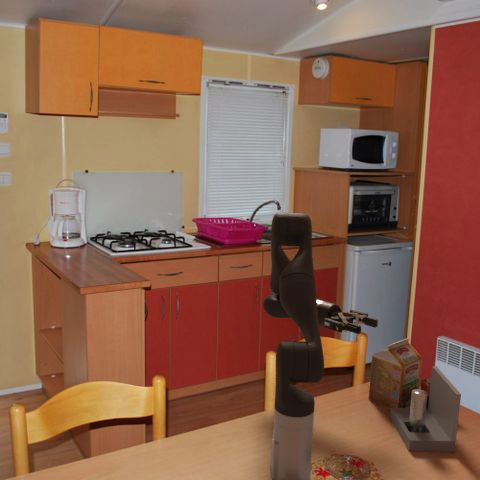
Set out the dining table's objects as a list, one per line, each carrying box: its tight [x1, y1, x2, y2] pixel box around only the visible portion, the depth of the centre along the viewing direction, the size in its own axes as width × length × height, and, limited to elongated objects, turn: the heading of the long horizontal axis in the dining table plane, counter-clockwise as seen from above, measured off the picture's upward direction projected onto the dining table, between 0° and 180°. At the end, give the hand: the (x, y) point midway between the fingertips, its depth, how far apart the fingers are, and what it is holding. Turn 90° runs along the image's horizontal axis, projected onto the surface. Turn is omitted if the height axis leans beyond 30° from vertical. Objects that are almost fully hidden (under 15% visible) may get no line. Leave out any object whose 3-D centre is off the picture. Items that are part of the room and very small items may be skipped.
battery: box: [419, 378, 431, 409], centre depth 176 cm, size 4×7×10 cm, turn 100°
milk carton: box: [368, 338, 423, 410], centre depth 181 cm, size 11×11×19 cm
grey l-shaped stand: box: [389, 365, 462, 453], centre depth 161 cm, size 12×18×16 cm, turn 1°
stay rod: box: [408, 388, 427, 432], centre depth 160 cm, size 4×4×13 cm
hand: (368, 327), depth 165 cm, fingers open, 8 cm apart
